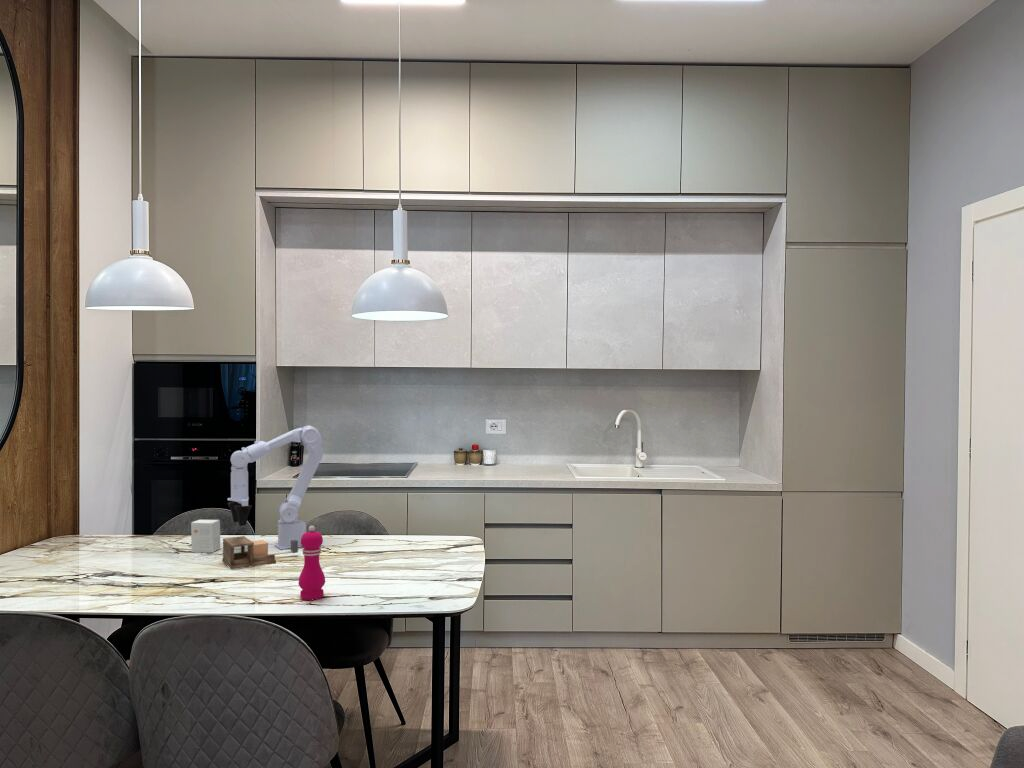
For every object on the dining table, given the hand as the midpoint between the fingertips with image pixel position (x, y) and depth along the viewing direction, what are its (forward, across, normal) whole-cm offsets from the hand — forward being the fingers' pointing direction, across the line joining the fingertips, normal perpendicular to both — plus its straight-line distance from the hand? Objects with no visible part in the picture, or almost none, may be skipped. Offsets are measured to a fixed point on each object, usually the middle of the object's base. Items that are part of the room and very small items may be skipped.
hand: (239, 523), depth 264 cm
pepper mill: (+10, +68, +2) cm, 69 cm away
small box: (+10, -6, -10) cm, 15 cm away
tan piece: (+8, +19, +6) cm, 22 cm away
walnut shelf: (+9, +19, -2) cm, 21 cm away
